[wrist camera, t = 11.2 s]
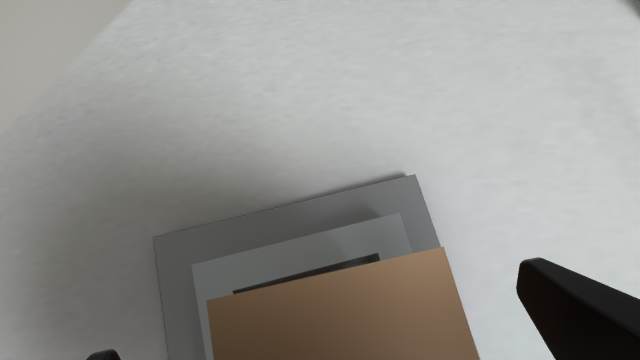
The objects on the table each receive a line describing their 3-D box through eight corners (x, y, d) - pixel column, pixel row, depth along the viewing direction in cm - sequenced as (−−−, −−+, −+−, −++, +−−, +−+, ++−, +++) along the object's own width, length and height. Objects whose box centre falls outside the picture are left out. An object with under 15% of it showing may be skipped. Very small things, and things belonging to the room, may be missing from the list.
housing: (507, 459, 18) (552, 493, 15) (203, 561, 17) (178, 625, 13) (410, 180, 22) (429, 157, 19) (160, 240, 21) (132, 227, 17)
